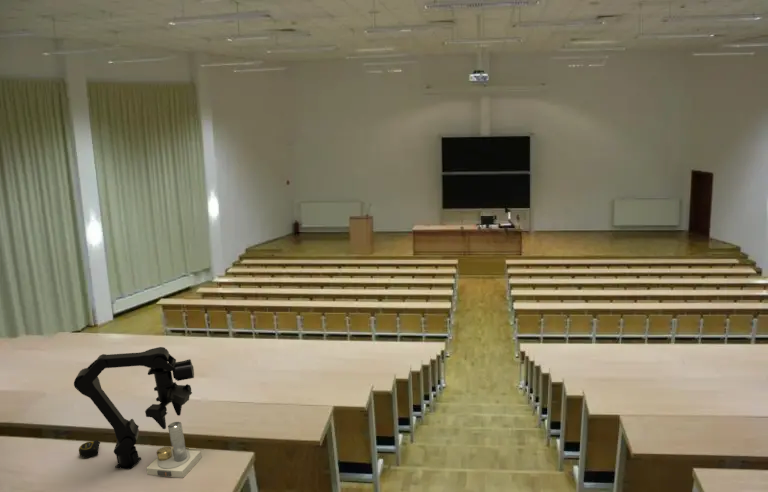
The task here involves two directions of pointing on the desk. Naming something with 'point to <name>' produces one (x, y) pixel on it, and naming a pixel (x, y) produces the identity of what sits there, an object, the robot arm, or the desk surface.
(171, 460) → the scale
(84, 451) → the tape measure
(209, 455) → the desk surface
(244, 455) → the desk surface
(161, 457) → the brass weight
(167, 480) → the desk surface
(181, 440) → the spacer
